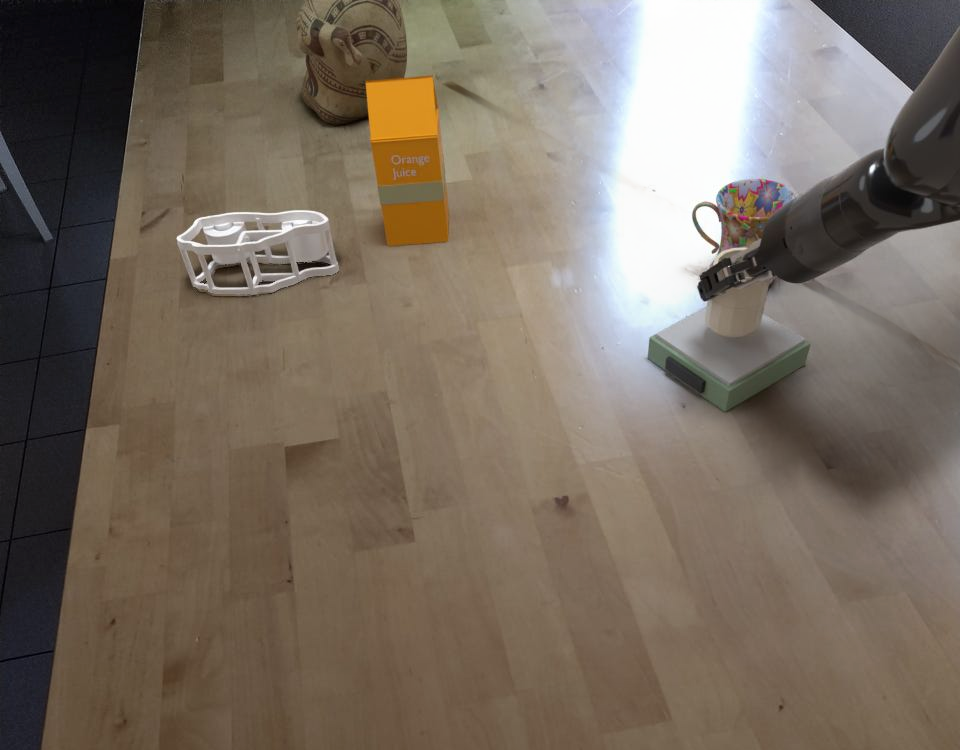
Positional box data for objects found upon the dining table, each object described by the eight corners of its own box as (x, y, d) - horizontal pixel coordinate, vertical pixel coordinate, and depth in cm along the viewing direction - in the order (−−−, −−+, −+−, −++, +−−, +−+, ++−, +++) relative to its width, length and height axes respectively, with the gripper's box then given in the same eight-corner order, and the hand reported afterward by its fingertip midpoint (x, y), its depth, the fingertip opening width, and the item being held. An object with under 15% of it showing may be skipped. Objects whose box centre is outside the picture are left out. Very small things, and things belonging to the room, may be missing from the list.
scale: (725, 315, 112) (729, 290, 109) (805, 364, 105) (812, 339, 102) (644, 360, 108) (646, 335, 105) (721, 414, 101) (726, 389, 98)
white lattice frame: (345, 250, 127) (334, 199, 121) (331, 295, 121) (319, 244, 115) (210, 253, 129) (193, 203, 123) (189, 298, 123) (170, 248, 117)
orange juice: (448, 242, 126) (432, 89, 110) (387, 246, 127) (361, 94, 111) (449, 213, 131) (434, 62, 115) (389, 217, 131) (366, 67, 115)
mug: (784, 263, 117) (802, 183, 109) (770, 304, 113) (788, 222, 104) (693, 251, 121) (704, 171, 112) (676, 289, 116) (686, 210, 107)
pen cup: (731, 301, 105) (742, 240, 99) (772, 325, 102) (785, 264, 96) (692, 322, 103) (700, 261, 97) (732, 347, 100) (743, 286, 94)
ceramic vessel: (293, 138, 148) (242, -86, 124) (313, 81, 161) (270, -132, 137) (407, 132, 147) (377, -96, 123) (418, 75, 159) (393, -142, 135)
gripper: (873, 167, 85) (772, 230, 101) (746, 210, 82) (663, 268, 98) (895, 245, 86) (792, 295, 102) (770, 291, 83) (684, 335, 99)
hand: (729, 282), depth 100 cm, fingers closed on pen cup, 6 cm apart
